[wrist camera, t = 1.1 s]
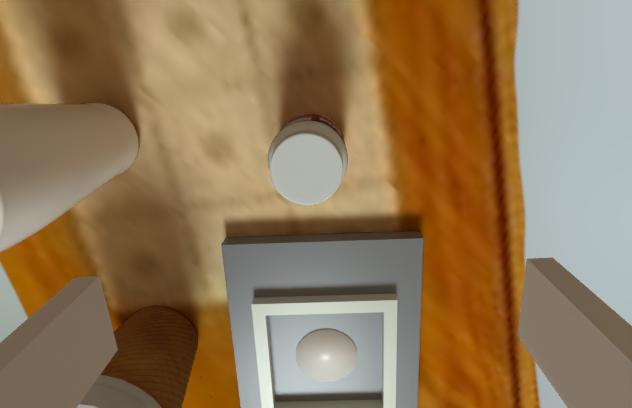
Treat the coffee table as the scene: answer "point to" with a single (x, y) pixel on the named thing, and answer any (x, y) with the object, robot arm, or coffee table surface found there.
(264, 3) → the coffee table surface
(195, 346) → the disposable coffee cup
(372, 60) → the coffee table surface
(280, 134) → the pill bottle
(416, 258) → the socket plate
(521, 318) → the robot arm
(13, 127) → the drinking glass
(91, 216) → the coffee table surface
